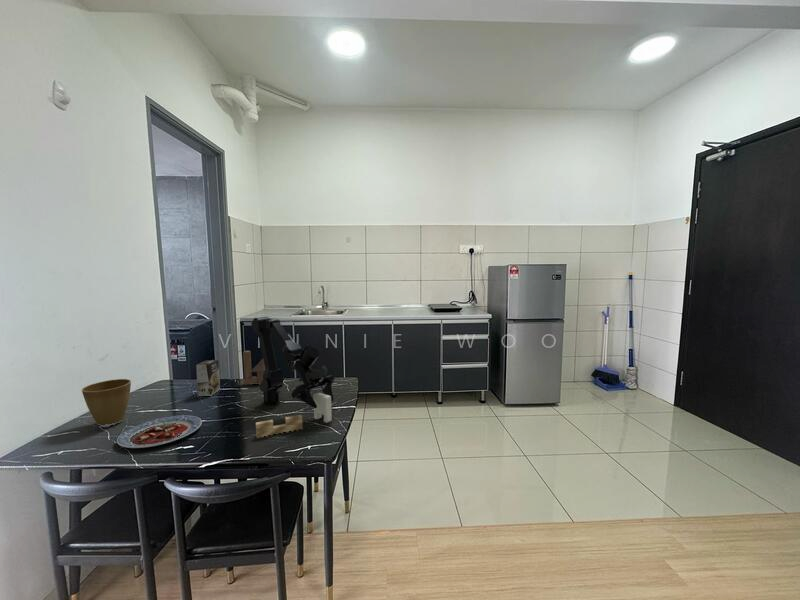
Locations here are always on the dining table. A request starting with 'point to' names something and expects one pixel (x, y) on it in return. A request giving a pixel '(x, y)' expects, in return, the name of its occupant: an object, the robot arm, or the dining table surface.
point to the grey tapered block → (322, 407)
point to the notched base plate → (278, 426)
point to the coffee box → (208, 377)
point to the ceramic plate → (159, 431)
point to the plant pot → (107, 400)
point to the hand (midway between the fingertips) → (324, 404)
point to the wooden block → (248, 371)
